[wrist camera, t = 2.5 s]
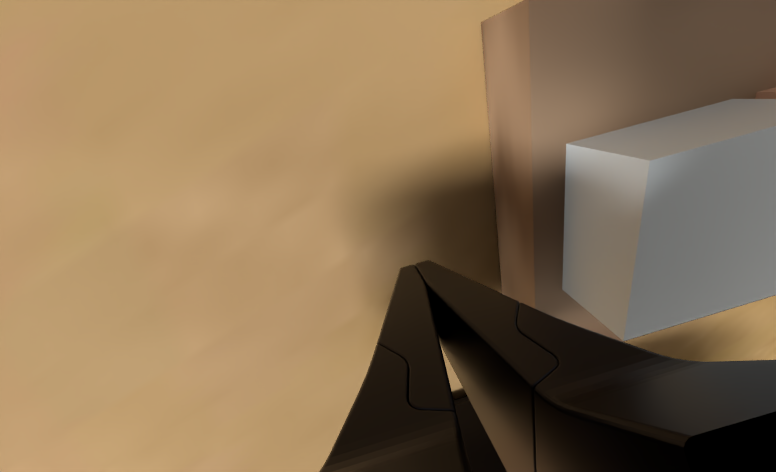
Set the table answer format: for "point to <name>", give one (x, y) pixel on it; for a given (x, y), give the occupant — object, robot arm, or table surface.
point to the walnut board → (598, 105)
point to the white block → (672, 217)
